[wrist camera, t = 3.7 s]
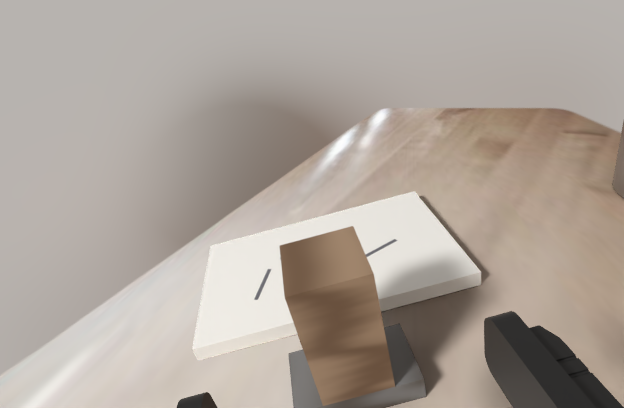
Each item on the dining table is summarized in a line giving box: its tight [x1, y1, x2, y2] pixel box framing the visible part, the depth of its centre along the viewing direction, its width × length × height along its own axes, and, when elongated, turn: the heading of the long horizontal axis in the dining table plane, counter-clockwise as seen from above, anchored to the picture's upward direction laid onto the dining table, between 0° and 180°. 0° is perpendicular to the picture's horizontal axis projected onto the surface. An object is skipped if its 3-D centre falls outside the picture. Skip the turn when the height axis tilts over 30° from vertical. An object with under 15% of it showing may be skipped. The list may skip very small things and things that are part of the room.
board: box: [192, 191, 481, 361], centre depth 41 cm, size 26×16×2 cm, turn 98°
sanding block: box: [280, 226, 426, 408], centre depth 26 cm, size 9×5×12 cm, turn 98°
